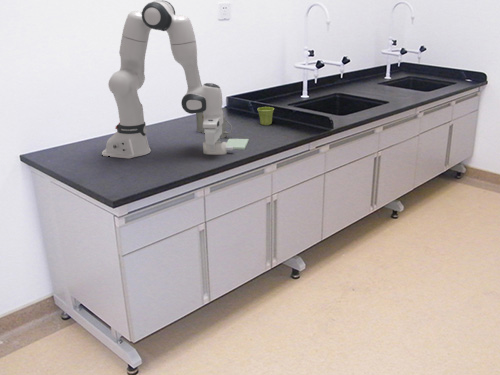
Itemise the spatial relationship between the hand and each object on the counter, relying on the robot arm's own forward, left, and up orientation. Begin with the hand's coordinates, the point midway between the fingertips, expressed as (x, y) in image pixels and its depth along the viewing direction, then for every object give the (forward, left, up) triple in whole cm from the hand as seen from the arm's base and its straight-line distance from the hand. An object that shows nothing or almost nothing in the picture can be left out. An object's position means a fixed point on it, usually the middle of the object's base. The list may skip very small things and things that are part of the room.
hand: (215, 148), depth 230 cm
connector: (+1, 0, -2) cm, 3 cm away
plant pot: (+18, +53, -2) cm, 56 cm away
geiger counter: (-6, +30, -2) cm, 31 cm away
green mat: (+8, +13, -2) cm, 15 cm away
